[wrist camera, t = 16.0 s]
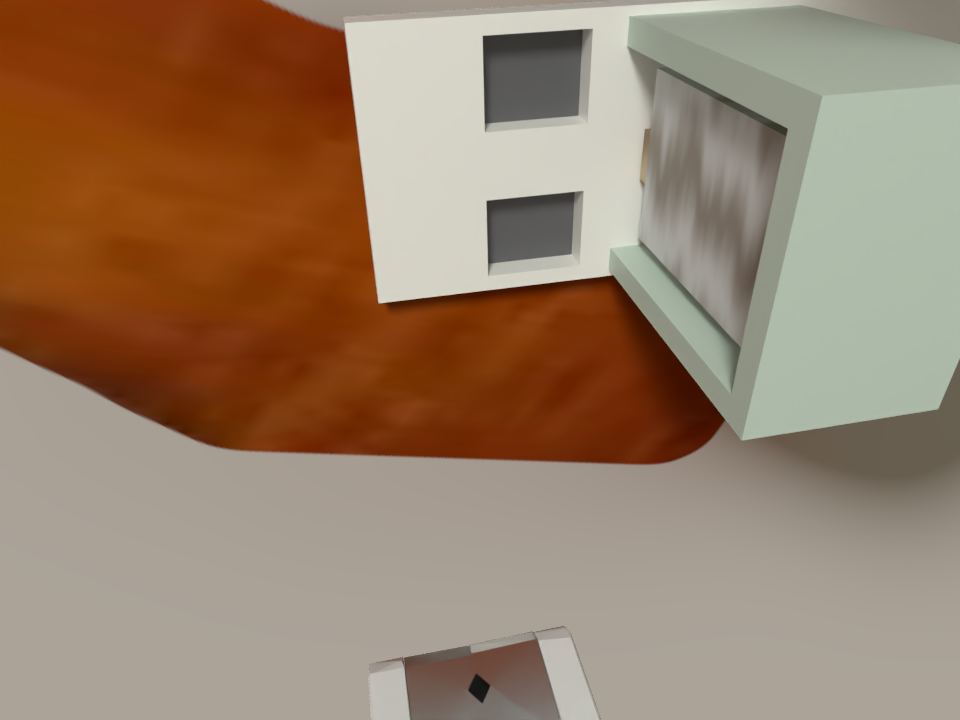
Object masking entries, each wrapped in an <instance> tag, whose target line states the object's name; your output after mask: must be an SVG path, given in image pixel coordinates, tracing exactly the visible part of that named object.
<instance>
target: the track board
mask: <svg viewBox="0 0 960 720" xmlns="http://www.w3.org/2000/svg"><path fill="white" fill-rule="evenodd" d="M792 5H803V6H807V7H811V8H816V9H820V10H824V11H828V12H832V13H836V14H840V15H844V16H848V17H852V18H856V19H860V20H864V21H868V22H872V23H876V24H880V25H884V26H888V27H892V28H896V29H900V30H904V31H908V32H912V33H916V34H920V35H925V36H929V37H933V38H937V39H941V40H945V41H949V42H953V43H957V44H959V43H960V0H617V1H599V2H583V3H566V4H550V5H534V6H516V7H500V8H483V9H467V10H452V11H451V10H450V11H435V12H417V13H402V14H401V13H400V14H384V15H367V16H351V17H343V22H344V31H345V39H346V47H347V55H348V63H349V71H350V79H351V87H352V96H353V104H354V112H355V120H356V128H357V136H358V144H359V152H360V160H361V169H362V177H363V185H364V193H365V201H366V209H367V217H368V225H369V233H370V242H371V250H372V258H373V266H374V274H375V282H376V290H377V296H378V302H379V303H386V302H394V301H403V300H411V299H419V298H428V297H436V296H444V295H453V294H461V293H469V292H478V291H486V290H494V289H503V288H511V287H519V286H528V285H536V284H544V283H553V282H561V281H569V280H578V279H586V278H595V277H603V276H611V275H613V274H612V273H611V272H610V270H609V258H610V248H614V247H623V246H632V245H640V244H644V243H643V242H642V241H641V240H640V239H639V235H640V225H641V216H642V206H643V197H644V188H645V183H644V182H642V181H641V180H640V173H641V163H642V153H643V143H644V133H645V129H650V128H651V122H652V113H653V103H654V94H655V84H656V75H657V68H664V67H667V66H665V65H663V64H661V63H659V62H657V61H655V60H653V59H651V58H649V57H647V56H645V55H643V54H641V53H639V52H637V51H635V50H634V49H632V48H630V47H628V46H627V40H628V28H629V16H636V15H651V14H667V13H683V12H698V11H714V10H730V9H745V8H761V7H777V6H792Z"/></svg>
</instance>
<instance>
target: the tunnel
mask: <svg viewBox="0 0 960 720" xmlns="http://www.w3.org/2000/svg"><path fill="white" fill-rule="evenodd" d="M627 46H628V47H630V48H632V49H634V50H635V51H637V52H639V53H641V54H643V55H645V56H647V57H649V58H651V59H653V60H655V61H657V62H659V63H661V64H663V65H665V66H667V67H669V68H671V69H672V70H674V71H676V72H678V73H680V74H682V75H684V76H686V77H688V78H690V79H692V80H694V81H696V82H698V83H700V84H702V85H704V86H706V87H708V88H709V89H711V90H713V91H715V92H717V93H719V94H721V95H723V96H725V97H727V98H729V99H731V100H733V101H735V102H737V103H739V104H741V105H743V106H745V107H746V108H748V109H750V110H752V111H754V112H756V113H758V114H760V115H762V116H764V117H766V118H768V119H770V120H772V121H774V122H776V123H778V124H780V125H782V126H783V127H785V128H787V129H788V131H787V136H786V140H785V145H784V150H783V154H782V159H781V164H780V168H779V173H778V178H777V183H776V187H775V192H774V197H773V201H772V206H771V211H770V215H769V220H768V225H767V229H766V234H765V239H764V243H763V248H762V253H761V257H760V262H759V267H758V271H757V276H756V281H755V285H754V290H753V295H752V299H751V304H750V309H749V313H748V318H747V323H746V328H745V332H744V337H743V342H742V346H741V347H740V346H739V345H738V344H737V343H736V342H735V341H734V340H733V339H732V338H731V337H730V336H729V334H728V333H727V332H726V331H725V330H724V329H723V328H722V327H721V326H720V325H719V324H718V323H717V322H716V320H715V319H714V318H713V317H712V316H711V315H710V314H709V313H708V312H707V311H706V310H705V309H704V308H703V306H702V305H701V304H700V303H699V302H698V301H697V300H696V299H695V298H694V297H693V296H692V295H691V293H690V292H689V291H688V290H687V289H686V288H685V287H684V286H683V285H682V284H681V283H680V282H679V281H678V279H677V278H676V277H675V276H674V275H673V274H672V273H671V272H670V271H669V270H668V269H667V268H666V267H665V265H664V264H663V263H662V262H661V261H660V260H659V259H658V258H657V257H656V256H655V255H654V254H653V253H652V251H651V250H650V249H649V248H648V247H647V246H646V245H645V244H640V245H632V246H623V247H614V248H610V258H609V270H610V272H611V273H612V274H613V275H614V277H615V278H616V279H617V281H618V282H619V283H620V284H621V286H622V287H623V288H624V290H625V291H626V292H627V293H628V295H629V296H630V297H631V299H632V300H633V301H634V302H635V304H636V305H637V306H638V308H639V309H640V310H641V312H642V313H643V314H644V315H645V317H646V318H647V319H648V321H649V322H650V323H651V324H652V326H653V327H654V328H655V330H656V331H657V332H658V333H659V335H660V336H661V337H662V339H663V340H664V341H665V342H666V344H667V345H668V346H669V348H670V349H671V350H672V352H673V353H674V354H675V355H676V357H677V358H678V359H679V361H680V362H681V363H682V364H683V366H684V367H685V368H686V370H687V371H688V372H689V373H690V375H691V376H692V377H693V379H694V380H695V381H696V382H697V384H698V385H699V386H700V388H701V389H702V390H703V392H704V393H705V394H706V395H707V397H708V398H709V399H710V401H711V402H712V403H713V404H714V406H715V407H716V408H717V410H718V411H719V412H720V413H721V415H722V416H723V417H724V419H725V420H726V421H727V422H728V424H729V425H730V426H731V427H732V429H733V430H734V432H735V433H736V434H737V435H738V437H739V438H740V439H741V440H749V439H755V438H761V437H767V436H774V435H780V434H786V433H792V432H799V431H805V430H811V429H817V428H824V427H830V426H836V425H842V424H849V423H855V422H861V421H867V420H873V419H880V418H886V417H892V416H898V415H905V414H911V413H917V412H924V411H930V410H936V409H938V408H939V406H940V404H941V401H942V399H943V396H944V394H945V392H946V389H947V387H948V385H949V382H950V380H951V378H952V375H953V373H954V371H955V368H956V366H957V363H958V361H959V359H960V44H957V43H953V42H949V41H945V40H941V39H937V38H933V37H929V36H925V35H920V34H916V33H912V32H908V31H904V30H900V29H896V28H892V27H888V26H884V25H880V24H876V23H872V22H868V21H864V20H860V19H856V18H852V17H848V16H844V15H840V14H836V13H832V12H828V11H824V10H820V9H816V8H811V7H807V6H803V5H792V6H777V7H761V8H745V9H730V10H714V11H698V12H683V13H667V14H651V15H636V16H629V28H628V40H627Z"/></svg>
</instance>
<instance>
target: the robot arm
mask: <svg viewBox="0 0 960 720" xmlns="http://www.w3.org/2000/svg"><path fill="white" fill-rule="evenodd" d="M404 662H405V666H404ZM368 681H369V694H370V708H371V720H601V718H600V715H599V713H598V710H597V707H596V704H595V701H594V698H593V695H592V693H591V690H590V687H589V684H588V681H587V678H586V676H585V673H584V670H583V667H582V664H581V661H580V659H579V655H578V653H577V650H576V647H575V644H574V641H573V638H572V636H571V633H570V632H569V631H568V629H567V628H566V627H564V626H562V627H557V628H552V629H547V630H542V631H537V632H533V633H532V632H528V633H524V634H519V635H514V636H509V637H504V638H500V639H495V640H490V641H486V642H481V643H476V644H472V645H469V646H464V647H458V648H453V649H448V650H442V651H437V652H432V653H426V654H422V655H416V656H410V657H405V658H404V660H403V657H402V658H397V659H392V660H387V661H382V662H377V663H372V664H369V674H368Z"/></svg>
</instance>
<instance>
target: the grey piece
mask: <svg viewBox="0 0 960 720" xmlns="http://www.w3.org/2000/svg"><path fill="white" fill-rule="evenodd" d="M787 131H788V129H787V128H785V127H783V126H782V125H780V124H778V123H776V122H774V121H772V120H770V119H768V118H766V117H764V116H762V115H760V114H758V113H756V112H754V111H752V110H750V109H748V108H746V107H745V106H743V105H741V104H739V103H737V102H735V101H733V100H731V99H729V98H727V97H725V96H723V95H721V94H719V93H717V92H715V91H713V90H711V89H709V88H708V87H706V86H704V85H702V84H700V83H698V82H696V81H694V80H692V79H690V78H688V77H686V76H684V75H682V74H680V73H678V72H676V71H674V70H672V69H671V68H669V67H664V68H657V75H656V84H655V94H654V103H653V113H652V122H651V128H650V129H645V133H644V143H643V153H642V163H641V173H640V180H641V181H642V182H644V183H645V188H644V197H643V206H642V216H641V225H640V235H639V239H640V240H641V241H642V242H643V243H644V244H645V245H646V246H647V247H648V248H649V249H650V250H651V251H652V253H653V254H654V255H655V256H656V257H657V258H658V259H659V260H660V261H661V262H662V263H663V264H664V265H665V267H666V268H667V269H668V270H669V271H670V272H671V273H672V274H673V275H674V276H675V277H676V278H677V279H678V281H679V282H680V283H681V284H682V285H683V286H684V287H685V288H686V289H687V290H688V291H689V292H690V293H691V295H692V296H693V297H694V298H695V299H696V300H697V301H698V302H699V303H700V304H701V305H702V306H703V308H704V309H705V310H706V311H707V312H708V313H709V314H710V315H711V316H712V317H713V318H714V319H715V320H716V322H717V323H718V324H719V325H720V326H721V327H722V328H723V329H724V330H725V331H726V332H727V333H728V334H729V336H730V337H731V338H732V339H733V340H734V341H735V342H736V343H737V344H738V345H739V346H740V347H741V346H742V342H743V337H744V332H745V328H746V323H747V318H748V313H749V309H750V304H751V299H752V295H753V290H754V285H755V281H756V276H757V271H758V267H759V262H760V257H761V253H762V248H763V243H764V239H765V234H766V229H767V225H768V220H769V215H770V211H771V206H772V201H773V197H774V192H775V187H776V183H777V178H778V173H779V168H780V164H781V159H782V154H783V150H784V145H785V140H786V136H787Z"/></svg>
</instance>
